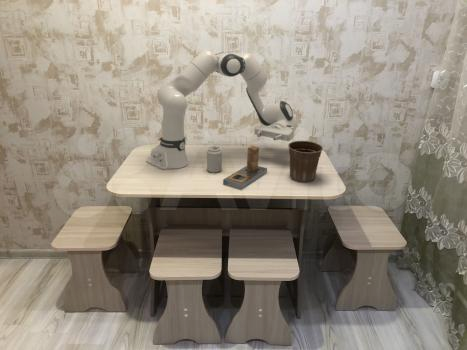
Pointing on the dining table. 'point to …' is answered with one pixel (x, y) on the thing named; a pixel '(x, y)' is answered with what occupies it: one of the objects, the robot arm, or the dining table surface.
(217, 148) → the can
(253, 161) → the walnut peg
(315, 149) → the plant pot
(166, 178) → the dining table surface
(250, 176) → the metal plate
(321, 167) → the dining table surface
